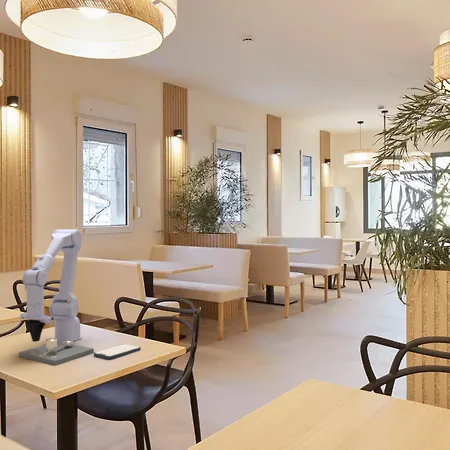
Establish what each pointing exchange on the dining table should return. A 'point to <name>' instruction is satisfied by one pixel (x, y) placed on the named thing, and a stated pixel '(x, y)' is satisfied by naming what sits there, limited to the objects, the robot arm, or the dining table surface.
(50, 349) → the lever
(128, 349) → the phone case
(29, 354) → the dial board
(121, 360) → the dining table surface
